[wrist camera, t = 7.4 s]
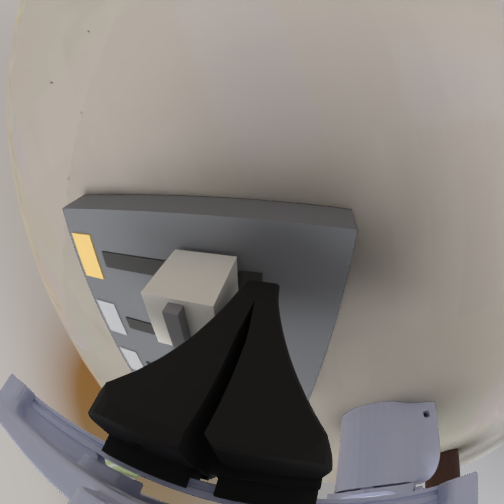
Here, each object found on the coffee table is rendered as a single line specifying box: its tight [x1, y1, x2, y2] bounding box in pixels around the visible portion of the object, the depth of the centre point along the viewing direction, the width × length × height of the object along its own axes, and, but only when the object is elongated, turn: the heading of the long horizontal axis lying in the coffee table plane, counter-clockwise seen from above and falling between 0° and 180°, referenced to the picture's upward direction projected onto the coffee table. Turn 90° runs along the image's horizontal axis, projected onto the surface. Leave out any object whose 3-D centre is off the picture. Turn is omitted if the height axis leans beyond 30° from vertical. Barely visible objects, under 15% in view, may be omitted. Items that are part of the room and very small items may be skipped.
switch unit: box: [62, 195, 358, 401], centre depth 16 cm, size 15×16×2 cm
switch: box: [141, 249, 238, 349], centre depth 11 cm, size 3×3×4 cm
